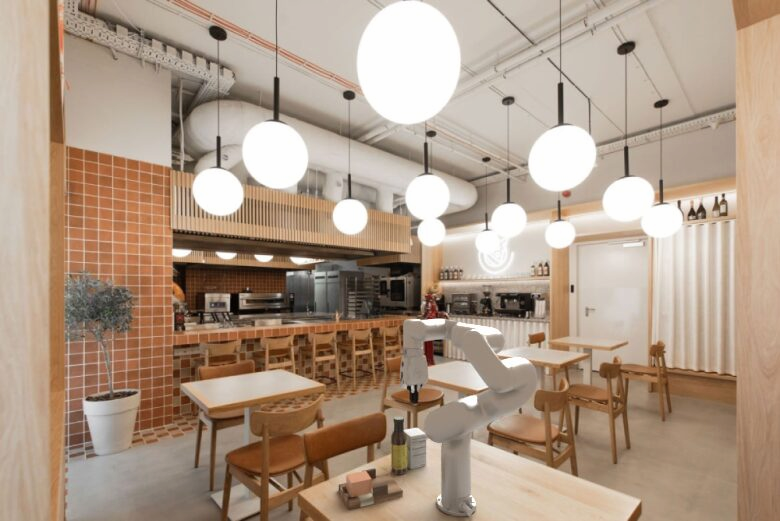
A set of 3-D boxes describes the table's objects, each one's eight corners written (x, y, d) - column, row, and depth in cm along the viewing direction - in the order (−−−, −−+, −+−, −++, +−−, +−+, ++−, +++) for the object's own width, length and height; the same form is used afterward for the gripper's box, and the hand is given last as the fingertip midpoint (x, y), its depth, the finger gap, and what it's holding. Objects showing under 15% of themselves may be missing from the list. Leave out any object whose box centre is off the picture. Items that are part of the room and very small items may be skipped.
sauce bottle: (410, 472, 139) (410, 418, 141) (397, 477, 136) (397, 422, 137) (400, 465, 145) (401, 414, 146) (387, 469, 141) (388, 417, 143)
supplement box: (401, 461, 148) (401, 429, 149) (417, 458, 151) (417, 426, 152) (410, 470, 141) (410, 436, 142) (426, 466, 144) (426, 433, 145)
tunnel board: (402, 496, 123) (402, 481, 124) (348, 509, 116) (348, 493, 116) (388, 479, 134) (388, 465, 135) (338, 490, 127) (338, 475, 127)
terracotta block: (371, 492, 122) (371, 478, 122) (351, 497, 119) (351, 483, 120) (365, 483, 127) (365, 470, 128) (346, 488, 125) (346, 474, 125)
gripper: (401, 355, 130) (401, 408, 128) (435, 352, 137) (436, 402, 135) (391, 352, 137) (391, 402, 135) (424, 349, 144) (425, 397, 142)
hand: (414, 402), depth 135 cm, fingers closed
